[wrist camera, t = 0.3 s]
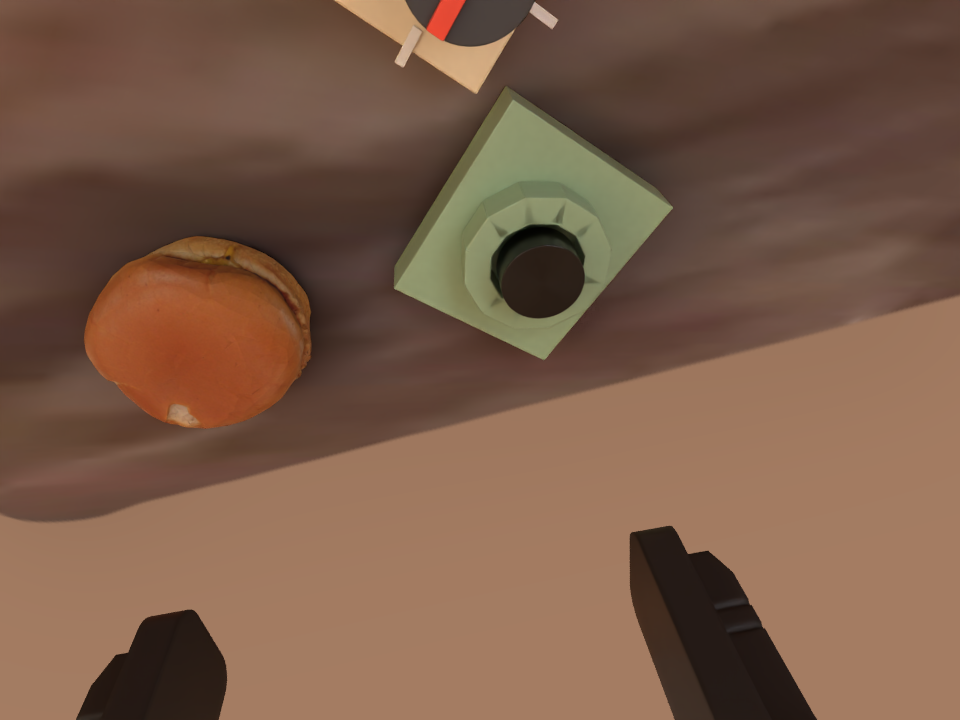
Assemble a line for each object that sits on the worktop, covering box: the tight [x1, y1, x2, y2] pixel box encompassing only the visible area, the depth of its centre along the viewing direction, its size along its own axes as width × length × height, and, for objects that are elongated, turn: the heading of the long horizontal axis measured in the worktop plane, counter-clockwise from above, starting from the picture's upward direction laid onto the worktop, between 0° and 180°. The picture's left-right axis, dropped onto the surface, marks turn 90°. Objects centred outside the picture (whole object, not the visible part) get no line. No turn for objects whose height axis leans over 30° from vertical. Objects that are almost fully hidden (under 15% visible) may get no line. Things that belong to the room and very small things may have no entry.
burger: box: [84, 236, 312, 429], centre depth 29 cm, size 10×9×5 cm
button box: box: [394, 86, 673, 360], centre depth 28 cm, size 10×9×4 cm
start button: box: [496, 227, 585, 319], centre depth 26 cm, size 4×4×2 cm
